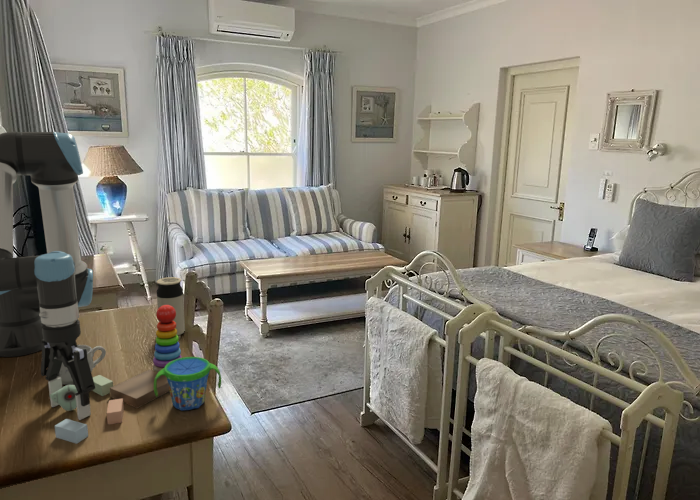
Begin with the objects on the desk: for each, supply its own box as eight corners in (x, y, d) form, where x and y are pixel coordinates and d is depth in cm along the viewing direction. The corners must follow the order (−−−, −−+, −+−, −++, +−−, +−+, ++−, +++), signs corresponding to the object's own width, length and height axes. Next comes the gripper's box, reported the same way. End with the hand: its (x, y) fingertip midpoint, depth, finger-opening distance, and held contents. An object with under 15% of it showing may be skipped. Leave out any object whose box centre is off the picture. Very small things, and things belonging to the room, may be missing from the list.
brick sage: (89, 389, 131) (88, 379, 130) (100, 385, 133) (99, 374, 133) (102, 396, 128) (101, 385, 127) (113, 392, 130) (112, 381, 130)
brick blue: (56, 438, 110) (54, 425, 110) (67, 430, 113) (66, 418, 112) (76, 444, 108) (75, 431, 108) (88, 436, 111) (87, 424, 110)
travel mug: (175, 326, 174) (172, 275, 170) (190, 331, 169) (187, 279, 165) (154, 333, 167) (150, 280, 163) (169, 339, 163) (165, 285, 159)
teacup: (48, 392, 129) (44, 363, 127) (50, 374, 138) (46, 347, 136) (108, 381, 135) (106, 353, 133) (106, 364, 145) (104, 338, 143)
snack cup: (222, 390, 132) (221, 353, 129) (221, 411, 122) (220, 372, 119) (158, 396, 128) (155, 358, 126) (152, 418, 118) (149, 378, 116)
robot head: (88, 402, 124) (86, 377, 123) (90, 410, 121) (88, 384, 120) (51, 411, 120) (47, 385, 119) (52, 419, 117) (48, 393, 115)
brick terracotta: (110, 411, 121) (109, 400, 120) (123, 409, 122) (122, 398, 121) (107, 425, 116) (106, 413, 115) (122, 422, 117) (121, 411, 116)
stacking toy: (173, 377, 138) (169, 311, 134) (147, 374, 140) (142, 309, 135) (188, 364, 146) (185, 302, 141) (163, 361, 147) (158, 300, 143)
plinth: (110, 397, 127) (109, 387, 127) (150, 377, 137) (149, 369, 137) (137, 408, 122) (136, 398, 122) (176, 387, 133) (175, 378, 132)
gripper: (16, 317, 118) (27, 404, 123) (74, 337, 107) (85, 432, 112) (48, 308, 124) (58, 391, 129) (107, 326, 113) (115, 416, 118)
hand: (70, 410), depth 120 cm, fingers open, 10 cm apart
